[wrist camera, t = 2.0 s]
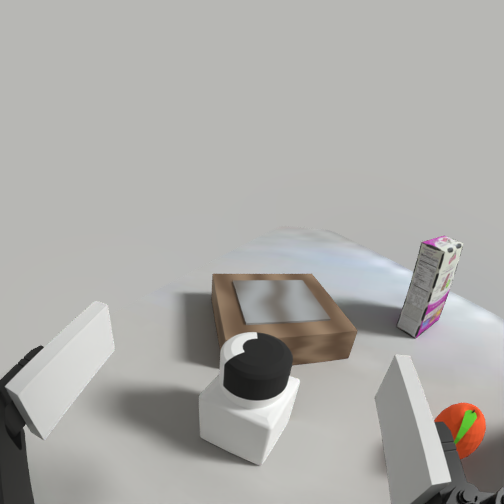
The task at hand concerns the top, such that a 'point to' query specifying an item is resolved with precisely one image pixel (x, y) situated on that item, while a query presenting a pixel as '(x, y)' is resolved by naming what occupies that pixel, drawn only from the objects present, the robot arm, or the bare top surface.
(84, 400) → the top surface
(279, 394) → the medicine bottle
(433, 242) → the candy bar box
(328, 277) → the top surface
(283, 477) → the top surface
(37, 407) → the robot arm
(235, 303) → the walnut base
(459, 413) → the clementine
